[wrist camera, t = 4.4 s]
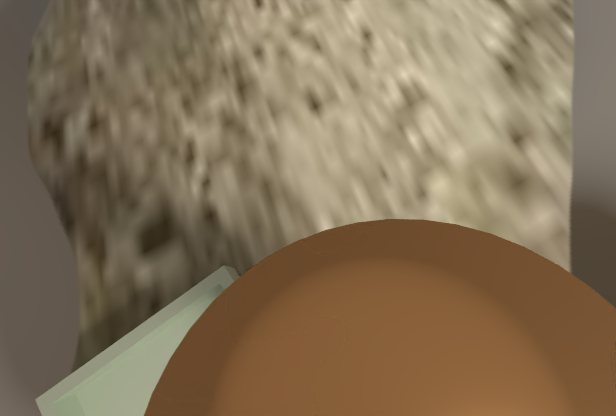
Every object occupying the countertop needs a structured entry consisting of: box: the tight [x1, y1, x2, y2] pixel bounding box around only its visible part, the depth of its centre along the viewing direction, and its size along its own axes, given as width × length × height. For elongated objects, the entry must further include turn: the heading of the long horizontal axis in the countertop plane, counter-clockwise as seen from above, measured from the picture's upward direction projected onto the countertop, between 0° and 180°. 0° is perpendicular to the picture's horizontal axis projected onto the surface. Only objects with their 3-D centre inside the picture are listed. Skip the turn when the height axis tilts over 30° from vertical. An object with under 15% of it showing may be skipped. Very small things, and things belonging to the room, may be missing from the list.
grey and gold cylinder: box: [144, 219, 616, 416], centre depth 9 cm, size 6×6×12 cm
